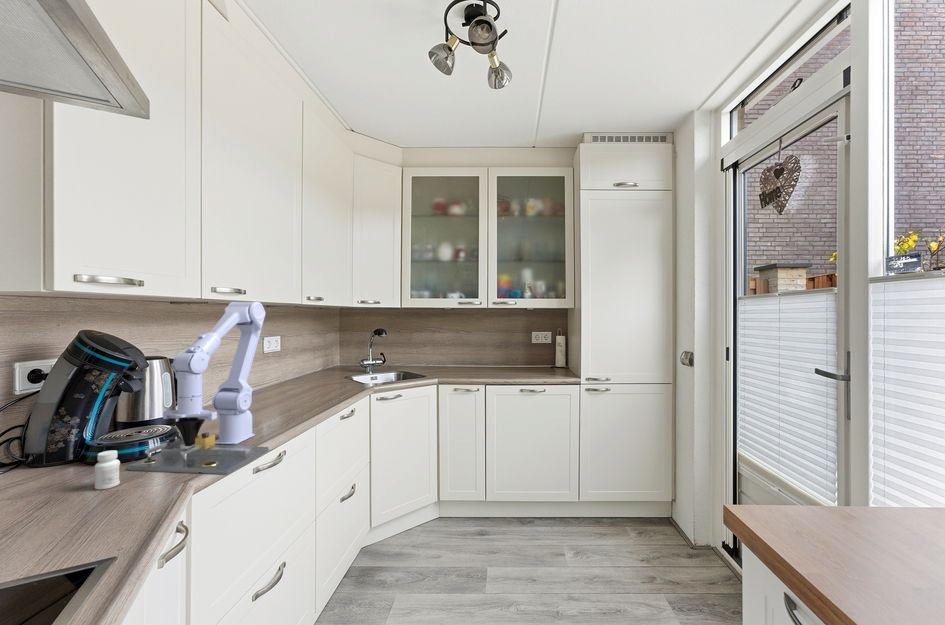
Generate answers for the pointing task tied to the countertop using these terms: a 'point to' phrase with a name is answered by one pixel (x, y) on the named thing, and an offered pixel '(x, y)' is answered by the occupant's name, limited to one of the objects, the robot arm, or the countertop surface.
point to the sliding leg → (200, 444)
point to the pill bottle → (107, 470)
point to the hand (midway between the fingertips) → (190, 445)
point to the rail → (210, 451)
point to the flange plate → (198, 461)
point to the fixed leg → (164, 446)
